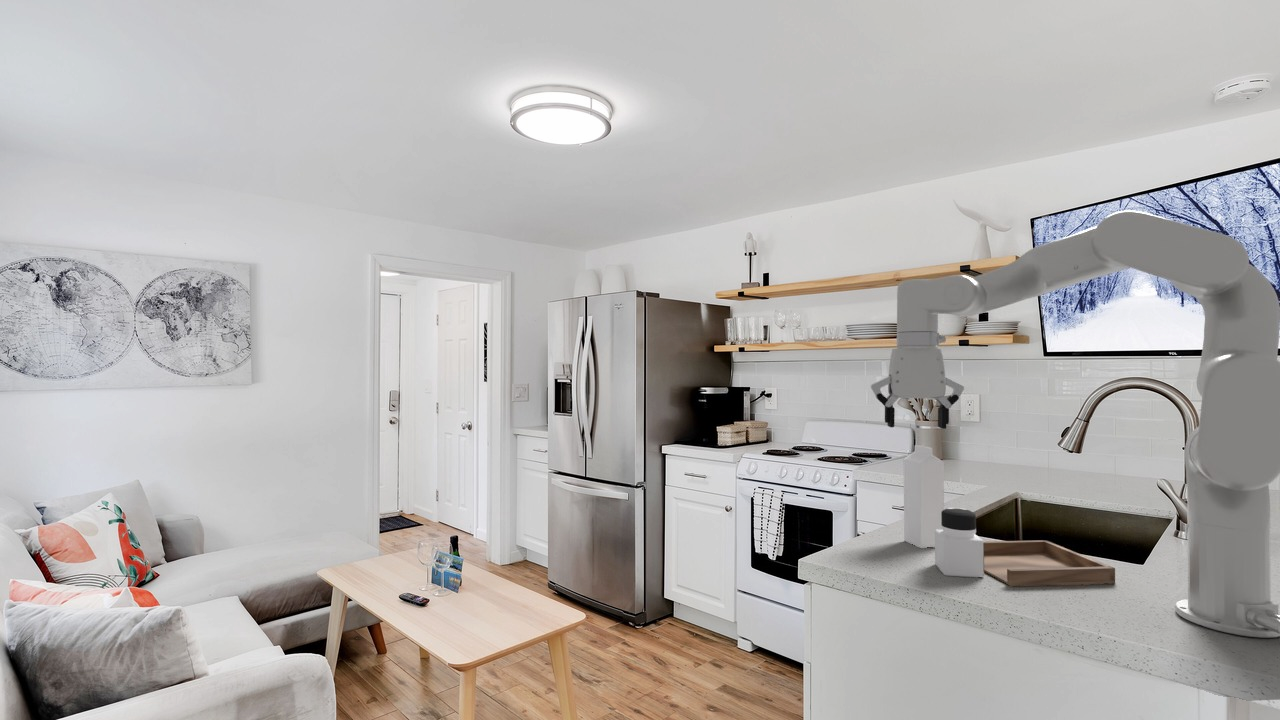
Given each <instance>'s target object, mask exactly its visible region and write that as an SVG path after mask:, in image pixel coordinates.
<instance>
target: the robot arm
mask: <svg viewBox="0 0 1280 720" xmlns="http://www.w3.org/2000/svg"><path fill="white" fill-rule="evenodd" d="M1127 269H1134V270H1136V271H1139V272H1141V273H1142V272H1143V273H1146V274H1149V275H1152V276H1156V277H1157V278H1161V279H1164V280H1167V281H1170V282H1171V284H1172V285H1173V286H1174V287H1175V288H1176V289H1177V290H1178V291H1180V292H1181V293H1184V294H1187V295H1189V296H1192V297H1193V298H1195V299H1196V300H1197V301H1198V302H1199V304H1200V305H1201V306H1202V310H1203V312H1204V325H1203V327H1204V328H1203V341H1202V351H1201V357H1200V358H1201V359H1200V362H1199V363H1200V364H1199V368H1198V372H1197V377H1196V388H1197V391H1198V393H1199V395H1200V396H1201V405H1200V415H1199V425H1198V426H1197V427H1195V429H1194V430H1192V432H1191V433H1190V434H1189V436H1188V437H1187V440H1186V443H1185V446H1184V447H1185V448H1184V465H1185V466H1184V467H1185V473H1186V475H1185V476H1186V494H1187V495H1186V496H1187V497H1186V499H1187V501H1186V503H1187V599H1186V598H1185V599H1180V600H1179V601H1176V602H1175V607H1174V608H1175V612H1176V613H1177V614H1178V616H1180V617H1182V618H1183V619H1184V620H1187V621H1189V622H1192V623H1193V624H1196V625H1199V626H1200V627H1201V626H1202V627H1205V628H1207V629H1211V630H1215V631H1219V632H1223V633H1227V634H1232V635H1236V636H1242V637H1243V636H1244V637H1249V638H1250V637H1251V638H1261V639H1263V638H1264V639H1265V638H1268V639H1270V638H1278V637H1280V614H1279V603H1276V602H1273V601H1272V600H1271V598H1272V597H1271V596H1272V595H1271V594H1272V593H1271V591H1272V590H1271V588H1272V587H1271V585H1272V584H1271V582H1272V581H1271V578H1272V577H1271V575H1272V574H1271V528H1272V527H1271V521H1272V520H1271V517H1272V516H1271V498H1270V488H1269V485H1270V484H1272V483H1273V482H1275V480H1277V478H1279V476H1280V361H1279V360H1278V352H1279V343H1280V302H1279V298H1278V295H1277V293H1276V290H1275V288H1274V287H1273V285H1272V284H1271V282H1270V281H1269V280H1268V279H1267V277H1266V276H1265V275H1264V274H1263V273H1262V272H1261V271H1260V270H1258V269H1257V268H1256V267H1255V266H1254V265H1252V264H1250V256H1249V254H1248V250H1247V249H1246V248H1245V246H1244V245H1243V244H1242V243H1241V242H1239V241H1238V240H1237V239H1235V238H1233V237H1232V236H1230V235H1226V234H1224V233H1220V232H1217V231H1214V230H1209V229H1206V228H1202V227H1199V226H1194V225H1191V224H1187V223H1184V222H1183V223H1182V222H1180V221H1176V220H1173V219H1169V218H1166V217H1163V216H1157V215H1156V214H1154V215H1153V214H1150V213H1146V212H1142V211H1137V210H1123V211H1122V210H1121V211H1117V212H1114V213H1112V214H1110V215H1108V216H1106V217H1104V219H1102V220H1101V221H1100V222H1099V223H1098V224H1097V226H1094V227H1091V228H1088V229H1085V230H1082V231H1080V232H1076V233H1073V234H1071V235H1068V236H1064V237H1062V238H1058V239H1055V240H1053V241H1050V242H1047V243H1044V244H1041V245H1038V246H1035V247H1033V248H1031V249H1029V250H1027V251H1026V252H1024V253H1023V254H1022V255H1021V256H1020V257H1018V258H1017V259H1016V260H1014V261H1012V262H1010V263H1008V264H1006V265H1004V266H1001V267H999V268H997V269H996V268H995V269H994V270H991V271H988V272H985V273H982V274H979V275H976V276H973V277H969V276H968V275H963V274H953V275H949V276H943V277H939V278H931V279H928V278H927V279H926V278H918V279H917V278H916V279H907V280H903V281H901V282H900V283H899V284H898V285H897V289H896V290H897V291H896V294H897V295H896V299H897V300H896V348H892V349H891V353H890V359H889V366H888V376H887V377H885V378H882V379H880V380H878V381H877V382H874V383H872V384H870V389H871V391H872V392H873V394H874V396H875V398H876V399H877V400H878V401H879V402H880V403H881V404H882V405H883V407H884V423H885V424H887V427H889V428H894V427H895V407H894V406H893V405H894V404H895V403H896V402H897V401H898V399H899V398H900V399H935V400H936V402H938V404H939V407H938V408H937V427H938V428H940V429H943V430H944V429H945V430H946V429H947V425H949V423H950V409H951V408H952V406H953V405H954V404H955V403H956V402H957V401H958V400H959V399H960V396H961V395H962V393H963V391H964V390H965V386H963V385H962V384H960V383H958V382H956V381H955V380H951V379H950V378H948V377H946V369H945V362H944V361H945V360H944V355H943V351H942V348H938V346H940V344H942V343H946V342H947V341H946V336H945V335H940V334H939V330H938V329H939V314H948V315H953V316H957V317H959V318H960V317H961V318H965V317H967V318H968V317H972V316H973V317H974V316H977V315H980V314H983V313H987V312H990V311H993V310H997V309H1000V308H1003V307H1007V306H1010V305H1012V304H1017V303H1020V302H1022V301H1025V300H1028V299H1032V298H1035V297H1040V296H1044V295H1045V294H1048V293H1052V292H1053V291H1058V290H1061V289H1065V288H1067V287H1070V286H1073V285H1076V284H1081V283H1084V282H1087V281H1091V280H1093V279H1097V278H1100V277H1104V276H1107V275H1111V274H1114V273H1117V272H1121V271H1124V270H1127ZM886 386H887V391H888V396H887V397H886V396H885V395H884V394H883V393H882V390H881V389H882V388H883V387H886ZM946 387H949V388H951V389H952V390H953V391H952V393H951V394H950V395H949V396H948V397H946V390H947V389H946Z"/></svg>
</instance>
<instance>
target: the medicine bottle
mask: <svg viewBox="0 0 1280 720" xmlns="http://www.w3.org/2000/svg"><path fill="white" fill-rule="evenodd" d="M941 528H942V530H937V529H936V530H935V547H934V565H936V567H937V568H938V569H939V571H941V573H942V574H943V575H944V576H949V577H961V578H962V577H964V578H965V577H966V578H978V577H982V579H983V578H984V577H985V572H984V542H985V541H984V540H983V539H982V538H981V537H980V536H978V535H977V534H976V533H977V515H976V513H975V512H973V511H971V510H969V509H966V508H960V507H947V508H944V510H943V511H942V512H941Z"/></svg>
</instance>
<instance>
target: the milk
mask: <svg viewBox="0 0 1280 720" xmlns="http://www.w3.org/2000/svg"><path fill="white" fill-rule="evenodd" d="M944 465H945V462H944V460H942V459H940V458H939V457H936V456H935V455H933V448H932V447H929V446H925V445H920V444H915V445H914V451H913V452H912V453H910V454H909V455H907V456H905V457H904V458H903V541H904V542H905V541H906V543H907V544H910V545H912V544H913V546H914V545H915V547H917V548H919V549H928V548H927V547H933V548H935V530H936V529H937V530H942V528H941V512H942V511H943V510H944V509H945V469H944V468H945V466H944Z"/></svg>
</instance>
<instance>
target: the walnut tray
mask: <svg viewBox="0 0 1280 720" xmlns="http://www.w3.org/2000/svg"><path fill="white" fill-rule="evenodd" d="M985 572H986V573H985ZM984 573H985V574H987V573H988V574H990V575H992V576H993V578H994V577H995V578H994V579H996V578H997V579H996V580H998V579H999V580H1001V581H1002V582H1001V581H1000V582H1001V583H1003V582H1004V583H1003V584H1005V583H1006V584H1005V585H1007V584H1008V585H1010V586H1021V587H1039V586H1038V585H1057V586H1082V585H1081V584H1083V586H1085V585H1086V586H1087V585H1089V586H1090V584H1094V585H1101V584H1100V583H1109V584H1108V585H1111V584H1110V583H1115V584H1116V567H1113V566H1111V565H1108V564H1106V563H1103V562H1101V561H1099V560H1096V559H1094V558H1091V557H1089V556H1086V555H1083V554H1081V553H1078V552H1076V551H1073V550H1071V549H1069V548H1065V547H1064V546H1061V545H1059V544H1056V543H1054V542H1052V541H1049V540H1046V539H1041V540H1039V539H1038V540H1037V539H1036V540H1002V541H1001V540H999V541H996V540H994V541H984ZM988 574H987V575H988ZM990 575H989V576H990ZM992 576H991V577H992ZM999 580H998V581H999ZM1008 585H1007V586H1008ZM1010 586H1009V587H1010Z"/></svg>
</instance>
